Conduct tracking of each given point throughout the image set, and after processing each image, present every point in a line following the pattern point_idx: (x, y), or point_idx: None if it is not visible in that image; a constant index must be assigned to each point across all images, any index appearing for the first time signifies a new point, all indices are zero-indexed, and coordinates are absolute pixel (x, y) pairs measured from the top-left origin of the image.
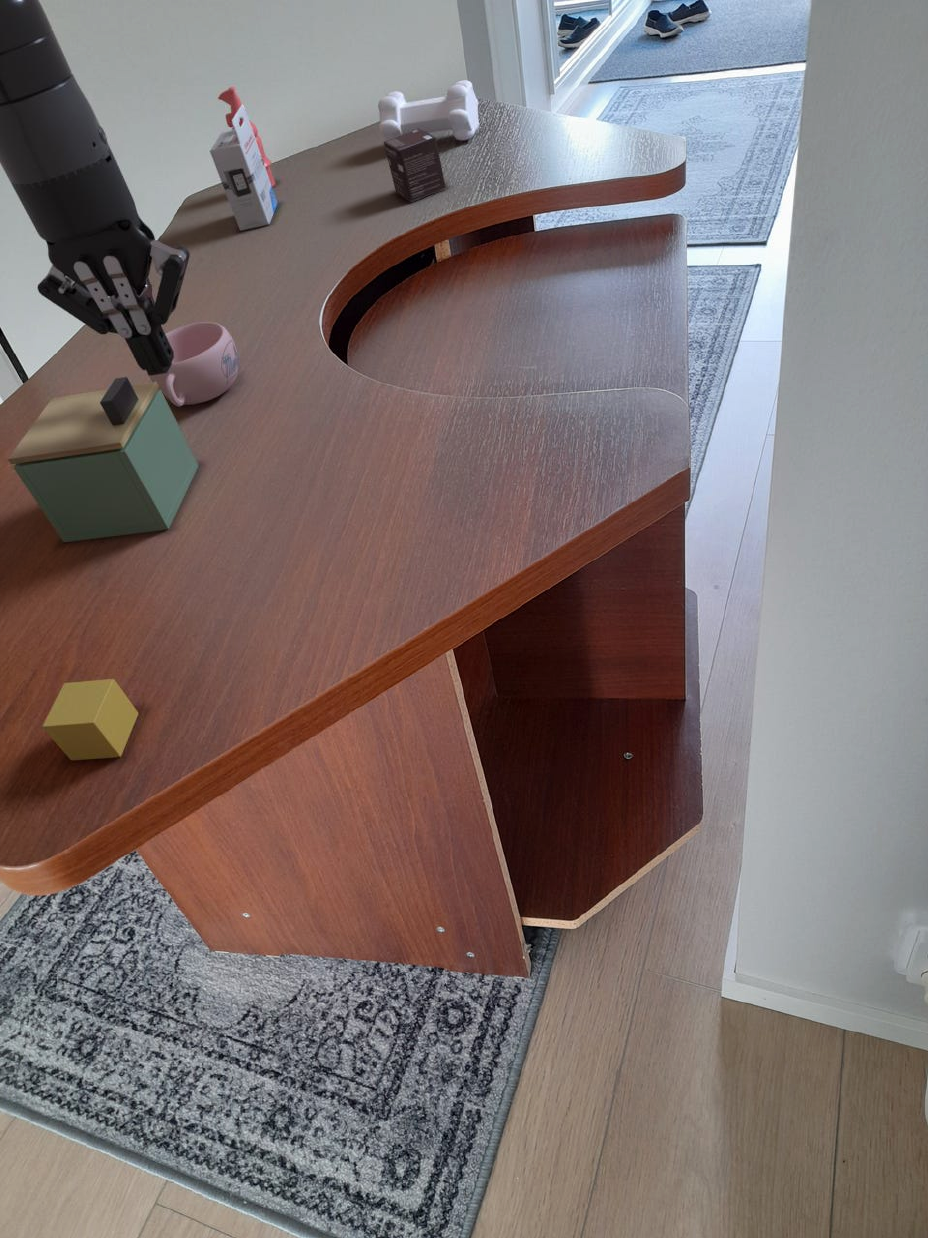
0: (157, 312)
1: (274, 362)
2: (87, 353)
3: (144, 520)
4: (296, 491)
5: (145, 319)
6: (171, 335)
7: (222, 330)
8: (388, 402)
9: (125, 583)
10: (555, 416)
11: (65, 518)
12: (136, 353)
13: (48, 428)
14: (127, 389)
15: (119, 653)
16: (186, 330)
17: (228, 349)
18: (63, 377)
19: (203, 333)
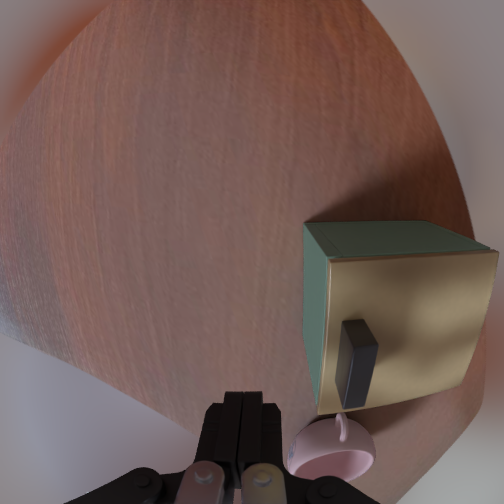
0: (137, 492)
1: None
2: (431, 455)
3: (329, 225)
4: (161, 270)
5: (181, 490)
6: (351, 476)
7: None
8: (127, 382)
9: (323, 131)
10: (14, 319)
11: (425, 227)
12: (271, 432)
13: (462, 322)
14: (342, 387)
15: (280, 34)
16: None
17: (288, 463)
18: (448, 435)
19: None
